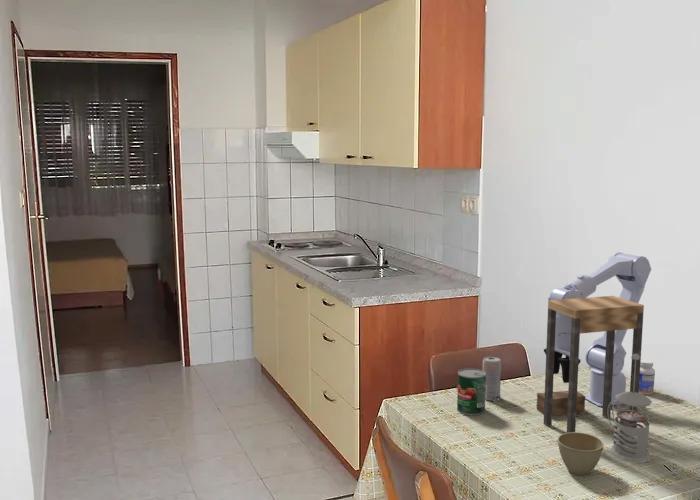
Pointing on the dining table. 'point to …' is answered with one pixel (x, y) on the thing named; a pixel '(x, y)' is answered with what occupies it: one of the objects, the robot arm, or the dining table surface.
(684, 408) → the dining table surface
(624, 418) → the french press
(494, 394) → the energy drink
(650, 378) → the pill bottle
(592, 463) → the flower pot
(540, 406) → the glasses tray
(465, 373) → the canned tomato
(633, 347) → the wood and metal stand
